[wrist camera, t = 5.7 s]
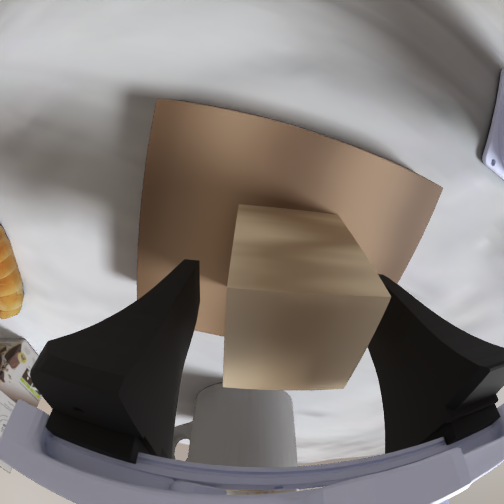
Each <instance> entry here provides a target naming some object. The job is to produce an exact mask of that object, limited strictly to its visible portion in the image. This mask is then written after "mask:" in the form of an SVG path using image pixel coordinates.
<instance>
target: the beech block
mask: <svg viewBox="0 0 504 504" xmlns="http://www.w3.org/2000/svg"><path fill="white" fill-rule="evenodd" d="M390 299H391V295H390V294H389V292H388V290H387V289H386V287H385V285H384V284H383V282H382V280H381V279H380V277H379V275H378V274H377V272H376V271H375V269H374V267H373V266H372V264H371V263H370V261H369V260H368V258H367V256H366V255H365V253H364V252H363V250H362V249H361V247H360V246H359V244H358V243H357V241H356V240H355V238H354V237H353V235H352V234H351V232H350V231H349V230H348V228H347V227H346V225H345V224H344V222H343V221H342V220H341V218H340V217H339V215H337V214H329V213H321V212H312V211H303V210H294V209H285V208H275V207H265V206H254V205H243V204H239V206H238V212H237V219H236V226H235V233H234V240H233V247H232V254H231V261H230V268H229V276H228V283H227V295H226V316H225V339H224V365H223V387H227V388H240V389H258V390H328V389H344V387H345V385H346V384H347V382H348V380H349V379H350V377H351V375H352V374H353V372H354V370H355V368H356V367H357V365H358V363H359V361H360V360H361V358H362V356H363V354H364V352H365V350H366V348H367V347H368V345H369V343H370V341H371V339H372V337H373V335H374V333H375V331H376V329H377V327H378V325H379V323H380V321H381V319H382V317H383V314H384V312H385V310H386V308H387V306H388V303H389V301H390Z"/></svg>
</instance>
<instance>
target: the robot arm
mask: <svg viewBox="0 0 504 504" xmlns="http://www.w3.org/2000/svg"><path fill="white" fill-rule="evenodd" d="M482 160H483V163H484V164H485V165H486V166H487V167H488V168H490V169H491V170H492V171H493V172H494V173H496V174H497V175H498V176H499V177H500V178H502V179H503V180H504V70H502V71H501V75H500V83H499V89H498V95H497V100H496V106H495V110H494V115H493V119H492V124H491V128H490V132H489V135H488V139H487V143H486V146H485V150H484V153H483V157H482ZM491 161H492V163H491ZM378 275H379V277H380V279H381V280H382V282H383V284H384V285H385V287H386V289H387V290H388V292H389V294H390V295H391V299H390V301H389V303H388V306H387V308H386V310H385V312H384V314H383V317H382V319H381V321H380V323H379V325H378V327H377V329H376V331H375V333H374V335H373V337H372V339H371V341H370V343H369V345H368V349H369V352H370V355H371V357H372V360H373V363H374V366H375V369H376V372H377V376H378V380H379V385H380V390H381V395H382V402H383V410H384V421H385V454H382V455H378V456H374V457H368V458H363V459H358V460H351V461H345V462H338V463H330V464H321V465H311V466H296V467H236V466H221V465H211V464H202V463H194V462H187V461H180V460H174V459H172V448H173V435H174V426H175V416H176V408H177V401H178V394H179V387H180V381H181V375H182V371H183V366H184V363H185V359H186V356H187V352H188V349H189V346H190V342H191V339H192V336H193V332H194V329H195V326H196V322H197V317H198V311H199V305H200V261H199V260H188V259H184V260H183V261H182V262H181V263H180V264H179V265H178V266H177V267H175V268H174V269H173V270H172V271H171V272H170V273H169V274H168V275H167V276H166V277H165V278H164V279H162V280H161V281H160V282H159V283H158V284H157V285H156V286H155V287H153V288H152V289H151V290H150V291H148V292H147V293H146V294H145V295H143V296H142V297H141V298H140V299H138V300H137V301H135V302H134V303H132V304H131V305H129V306H128V307H126V308H125V309H123V310H121V311H120V312H118V313H116V314H114V315H112V316H111V317H109V318H107V319H105V320H103V321H101V322H99V323H97V324H95V325H93V326H90V327H88V328H86V329H83V330H81V331H78V332H76V333H73V334H70V335H67V336H63V337H60V338H57V339H54V340H50V341H48V342H47V343H46V345H45V347H44V348H43V350H42V352H41V353H40V355H39V357H38V358H37V360H36V362H35V363H34V365H33V367H32V369H31V371H30V377H31V380H32V383H33V384H34V386H35V387H36V389H37V390H38V391H39V393H40V394H41V395H42V396H43V398H44V399H45V400H46V401H47V403H48V404H49V405H50V406H51V407H52V408H53V410H52V412H51V414H50V416H49V415H48V414H46V413H45V412H44V411H42V410H40V409H38V408H36V407H34V406H32V405H30V404H28V403H26V402H24V401H22V400H18V401H17V403H16V405H15V407H14V409H13V411H12V413H11V415H10V418H9V420H8V422H7V424H6V427H5V429H4V431H3V434H2V436H1V439H0V459H1V460H2V461H4V462H5V463H6V464H8V465H9V466H11V467H12V468H14V469H15V470H17V471H18V472H20V473H22V474H23V475H25V476H26V477H28V478H30V479H31V480H33V481H34V482H36V483H38V484H39V485H41V486H43V487H45V488H47V489H49V490H50V491H52V492H54V493H56V494H58V495H60V496H62V497H64V498H66V499H68V500H70V501H72V502H75V503H76V504H449V498H451V497H453V496H455V495H456V494H458V493H460V492H462V491H464V490H465V489H467V488H468V487H469V486H470V484H471V483H472V482H474V481H476V480H477V479H479V478H480V477H482V476H483V475H485V474H487V473H488V472H489V471H491V470H492V469H494V468H495V467H496V466H498V465H499V464H501V463H502V462H504V404H502V405H501V406H499V407H498V408H496V406H495V403H496V402H497V401H498V398H497V395H496V393H497V392H498V391H499V390H500V389H501V388H502V387H503V386H504V348H503V347H500V346H497V345H494V344H491V343H488V342H486V341H483V340H481V339H479V338H477V337H474V336H472V335H470V334H468V333H466V332H465V331H463V330H461V329H459V328H457V327H455V326H454V325H452V324H451V323H449V322H447V321H446V320H444V319H443V318H441V317H440V316H438V315H437V314H435V313H434V312H433V311H431V310H430V309H429V308H427V307H426V306H424V305H423V304H422V303H421V302H419V301H418V300H417V299H415V298H414V297H413V296H412V295H410V294H409V293H408V292H407V291H405V290H404V289H403V288H402V287H400V286H399V285H398V284H396V283H395V282H394V281H392V280H391V279H390V278H388V277H386V276H385V275H383V274H378ZM323 486H325V487H323ZM315 487H323V488H319V489H311V490H303V491H295V492H286V493H274V494H257V495H227V491H226V490H224V489H231V490H291V489H305V488H315Z"/></svg>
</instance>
